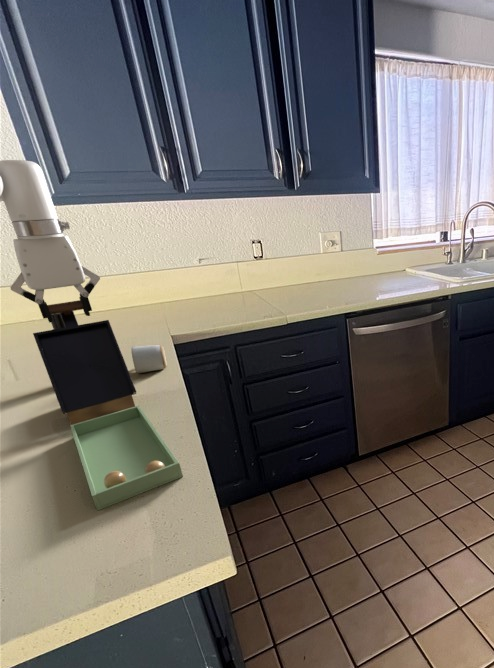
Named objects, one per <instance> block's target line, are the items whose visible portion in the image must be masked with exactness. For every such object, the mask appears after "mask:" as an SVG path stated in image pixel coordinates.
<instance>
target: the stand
mask: <svg viewBox="0 0 494 668" xmlns="http://www.w3.org/2000/svg"><path fill="white" fill-rule="evenodd" d="M135 406H136V403H135V401H134V398H133V395H131V396H127V397H123V398H120V399H116V400H113V401H109V402H105V403H102V404H98V405H94V406H91V407H87V408H83V409H80V410H76V411H72V412H69V413H66V416H67V419H68V421H69V424H70V425H73V424H77V423H80V422H84V421H87V420H91V419H94V418H97V417H101V416H104V415H108V414H111V413H115V412H118V411H122V410H125V409H129V408H132V407H135Z"/></svg>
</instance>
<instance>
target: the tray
mask: <svg viewBox="0 0 494 668" xmlns="http://www.w3.org/2000/svg"><path fill="white" fill-rule="evenodd" d="M69 427H70V430H71V433H72V438H73V440H74V443H75V447H76V449H77V453H78V456H79V460H80V463H81V467H82V469H83V472H84V476H85V479H86V482H87V485H88V488H89V491H90V495H91V497H92V500H93V503H94V506H95V508H96V510H97V511H100V510H102V509H105V508H108V507H110V506H113V505H115V504H118V503H121V502H122V501H126V500H128V499H130V498H134V497H136V496H138V495H141V494H143V493H145V492H148V491H151V490H153V489H155V488H158V487H161V486H163V485H166V484H168V483H171V482H173V481H175V480H178V479H181V478H183V477H184V475H183V471H182V468H181V464H180V462H179V460H178V459H177V458H176V456H175V454H174V453H173V452H172V450H171V448H170V447H169V446H168V445H167V443H166V442H165V440H164V439H163V438H162V436H161V435H160V433H159V432H158V430H157V429H156V427H155V426H154V425H153V423H152V422H151V420H150V419H149V417H148V416H147V415H146V413H145V412H144V410H143V409H142V407H141V406H140V405H135V407H132V408H129V409H125V410H122V411H118V412H115V413H111V414H108V415H104V416H101V417H97V418H94V419H91V420H87V421H84V422H80V423H77V424H73V425H71V424H70V425H69ZM152 461H160V462H162V463H163V464H164V465H165V467H163V468H160V469H158V470H155V471H152V472H150V473H147V474H145V467H146V466H147V464H148V463H150V462H152ZM113 471H120V472H122V473H123V474H124V475H125V477H126V482H123V483H121V484H118V485H115V486H113V487H110V488H106V487H105V485H104V478H105V476H106V475H107V474H108V473H110V472H113Z"/></svg>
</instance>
